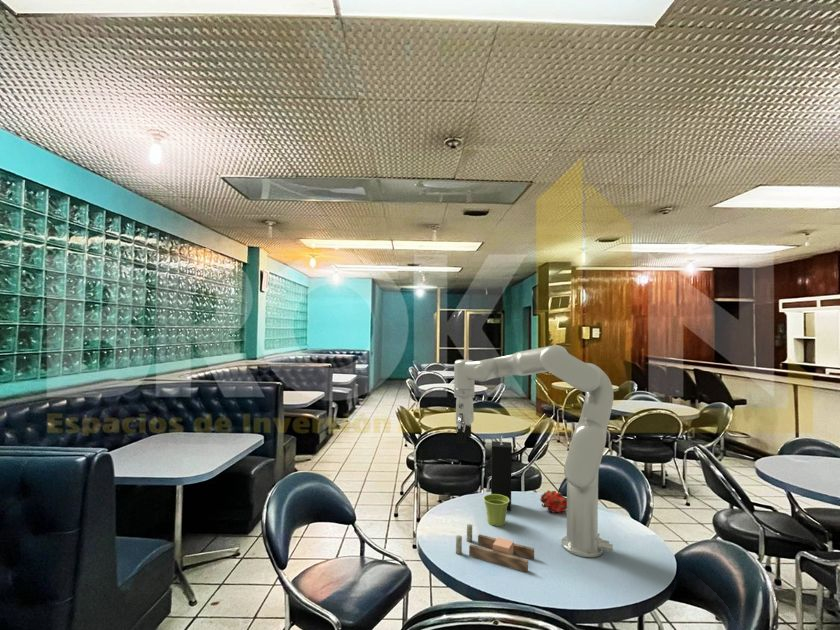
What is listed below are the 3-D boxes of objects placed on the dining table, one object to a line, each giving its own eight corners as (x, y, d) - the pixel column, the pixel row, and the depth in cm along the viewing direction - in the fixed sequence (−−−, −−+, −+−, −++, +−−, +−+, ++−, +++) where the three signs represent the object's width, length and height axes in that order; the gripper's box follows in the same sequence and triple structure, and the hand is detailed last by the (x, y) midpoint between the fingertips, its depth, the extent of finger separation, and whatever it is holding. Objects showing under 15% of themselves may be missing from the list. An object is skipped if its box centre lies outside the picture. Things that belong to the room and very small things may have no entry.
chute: (534, 556, 132) (535, 540, 132) (526, 574, 122) (526, 556, 122) (467, 538, 142) (468, 523, 143) (454, 553, 133) (455, 537, 133)
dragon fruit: (537, 512, 168) (568, 520, 166) (541, 507, 161) (573, 514, 159) (538, 491, 173) (569, 497, 171) (542, 484, 166) (574, 491, 164)
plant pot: (493, 530, 149) (494, 505, 149) (478, 520, 157) (478, 496, 157) (514, 525, 153) (514, 501, 153) (498, 515, 161) (498, 492, 162)
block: (513, 556, 132) (513, 541, 132) (508, 563, 128) (508, 548, 128) (497, 551, 134) (498, 537, 135) (492, 559, 130) (492, 544, 130)
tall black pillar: (490, 509, 166) (491, 437, 167) (490, 501, 174) (491, 433, 175) (511, 511, 165) (512, 439, 166) (510, 503, 173) (511, 434, 174)
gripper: (469, 397, 148) (469, 446, 147) (478, 390, 164) (478, 435, 163) (448, 395, 150) (448, 444, 149) (459, 389, 167) (459, 433, 166)
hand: (463, 439), depth 156 cm, fingers open, 9 cm apart
